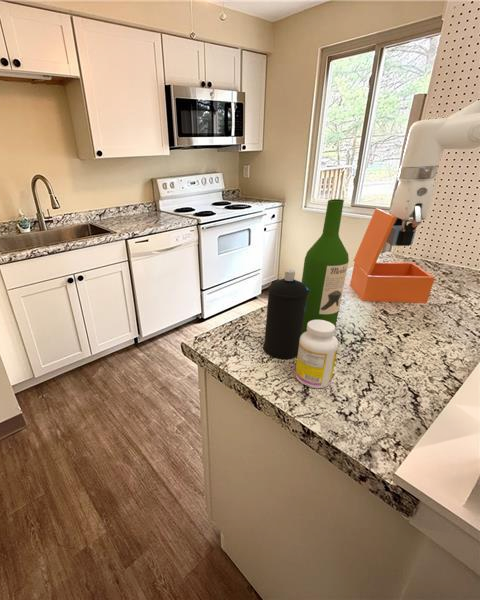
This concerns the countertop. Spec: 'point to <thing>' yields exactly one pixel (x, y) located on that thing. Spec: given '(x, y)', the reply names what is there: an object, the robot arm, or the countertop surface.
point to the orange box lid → (374, 240)
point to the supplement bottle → (317, 354)
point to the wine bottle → (325, 270)
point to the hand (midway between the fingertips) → (398, 242)
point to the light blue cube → (396, 235)
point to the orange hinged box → (393, 283)
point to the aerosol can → (285, 316)
